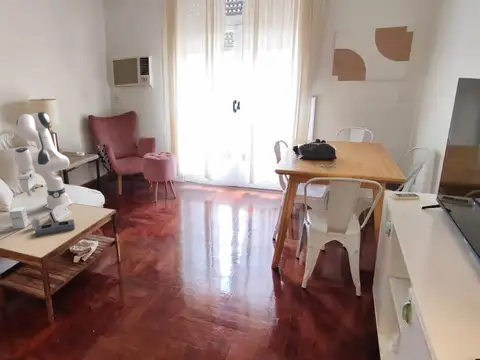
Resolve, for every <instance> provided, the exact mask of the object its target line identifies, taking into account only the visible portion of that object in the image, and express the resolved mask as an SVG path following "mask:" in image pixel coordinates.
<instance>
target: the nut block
mask: <svg viewBox="0 0 480 360" xmlns="http://www.w3.org/2000/svg"><path fill="white" fill-rule="evenodd" d="M30 222H31V226H32V230H34V231H35V230H36V226H39V225H42V224H41V221H40V216H34V217H31V218H30Z"/></svg>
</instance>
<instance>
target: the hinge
mask: <svg viewBox="0 0 480 360" xmlns="http://www.w3.org/2000/svg"><path fill="white" fill-rule="evenodd" d="M71 215H73V212H72V211H71V210H70V209H69V208H68V206H66V205H59V206H56V207H54V208H53V209H50V211H49V212H48V216H49V218H50V220H51V223H56V222H61V221H65V220H66V218H68V217H70V216H71Z"/></svg>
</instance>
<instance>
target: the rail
mask: <svg viewBox="0 0 480 360" xmlns="http://www.w3.org/2000/svg"><path fill="white" fill-rule="evenodd" d="M75 227H76V226H75V219H68V220H62V221H61V222H58V221H56V222H54V223H52V222H50V223H46V224H41V225H39V226H36V229H35V230H34V231H35V232H34V233H35V235H36V237H37V238H38V237H43V236H48V235H52V234H58V233H65V232H69V231H73V230H76V229H75Z"/></svg>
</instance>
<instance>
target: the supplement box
mask: <svg viewBox="0 0 480 360" xmlns="http://www.w3.org/2000/svg"><path fill="white" fill-rule="evenodd" d="M9 217H10V220H11V224H12V229H13V230H16V229H25V228H26V227H28V225H29V224H30V222H29V217H28V214H27V209H26V206H23V207H22V206H21V207H13V208H12V209H11V210H9Z"/></svg>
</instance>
